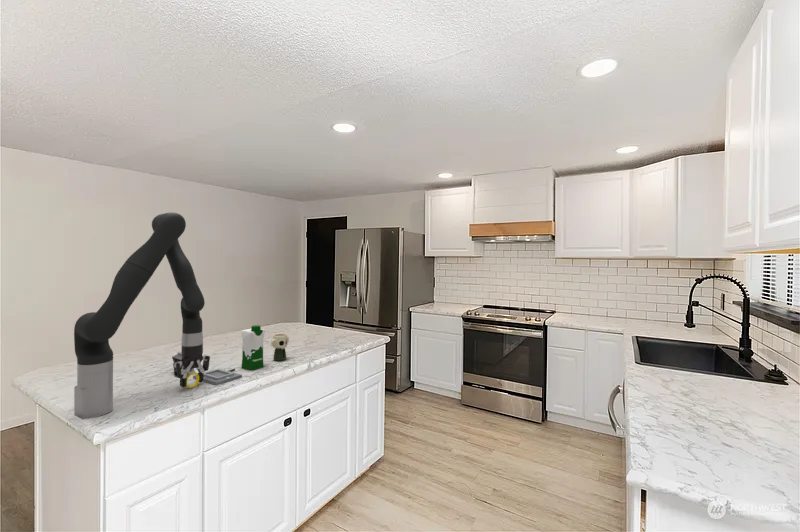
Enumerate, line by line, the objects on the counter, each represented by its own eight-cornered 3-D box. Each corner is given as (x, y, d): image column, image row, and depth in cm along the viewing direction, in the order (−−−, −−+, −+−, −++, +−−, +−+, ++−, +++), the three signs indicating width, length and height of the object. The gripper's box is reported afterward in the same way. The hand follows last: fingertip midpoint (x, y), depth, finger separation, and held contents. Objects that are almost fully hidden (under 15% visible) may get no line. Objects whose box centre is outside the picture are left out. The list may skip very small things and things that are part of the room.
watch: (195, 384, 152) (196, 370, 152) (200, 385, 151) (201, 371, 151) (182, 388, 146) (183, 373, 146) (187, 389, 145) (188, 374, 145)
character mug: (276, 363, 182) (276, 337, 182) (266, 361, 186) (266, 335, 185) (292, 358, 192) (293, 333, 191) (283, 356, 195) (283, 332, 195)
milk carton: (250, 371, 169) (251, 328, 169) (238, 368, 174) (238, 325, 173) (266, 366, 177) (267, 325, 176) (254, 363, 181) (254, 323, 181)
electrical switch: (195, 373, 165) (193, 353, 164) (183, 377, 160) (181, 357, 159) (184, 369, 170) (182, 350, 169) (172, 373, 165) (170, 353, 164)
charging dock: (216, 385, 150) (216, 380, 150) (193, 378, 158) (193, 373, 158) (251, 374, 165) (251, 370, 165) (228, 368, 173) (228, 364, 173)
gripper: (179, 348, 140) (179, 392, 140) (214, 341, 152) (214, 381, 153) (168, 345, 144) (168, 388, 144) (203, 338, 156) (203, 377, 157)
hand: (192, 384), depth 148 cm, fingers open, 6 cm apart
